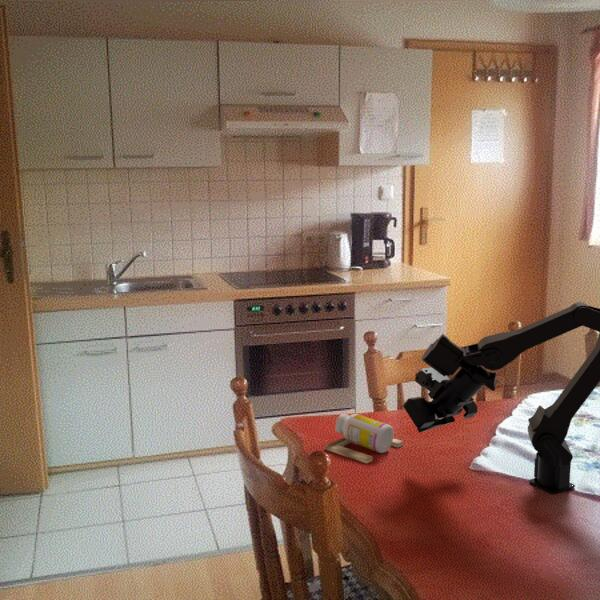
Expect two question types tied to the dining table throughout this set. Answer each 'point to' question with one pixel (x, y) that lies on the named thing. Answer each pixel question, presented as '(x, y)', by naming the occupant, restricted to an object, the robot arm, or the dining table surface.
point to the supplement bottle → (365, 432)
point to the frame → (340, 449)
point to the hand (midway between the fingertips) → (419, 430)
